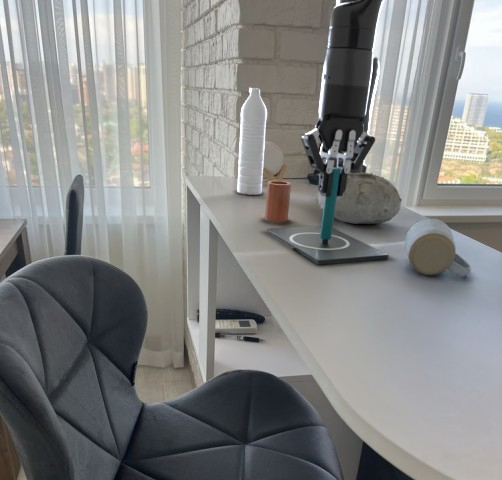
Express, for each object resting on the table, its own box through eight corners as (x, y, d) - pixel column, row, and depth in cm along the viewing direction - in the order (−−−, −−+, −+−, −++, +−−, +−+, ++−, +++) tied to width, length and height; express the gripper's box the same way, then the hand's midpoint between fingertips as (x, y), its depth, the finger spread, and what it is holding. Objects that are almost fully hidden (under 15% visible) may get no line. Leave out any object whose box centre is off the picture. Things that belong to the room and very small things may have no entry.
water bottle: (262, 195, 131) (269, 89, 120) (237, 194, 131) (242, 87, 120) (259, 189, 139) (266, 88, 128) (236, 188, 139) (240, 87, 128)
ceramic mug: (403, 274, 80) (414, 226, 77) (400, 259, 87) (410, 215, 84) (472, 284, 79) (487, 236, 75) (464, 268, 86) (477, 223, 82)
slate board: (327, 229, 104) (328, 225, 103) (387, 259, 87) (388, 254, 87) (266, 232, 98) (266, 228, 98) (317, 265, 82) (318, 259, 82)
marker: (326, 241, 92) (336, 167, 86) (332, 244, 90) (342, 169, 84) (317, 242, 91) (326, 167, 85) (322, 245, 89) (332, 169, 84)
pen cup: (281, 218, 110) (284, 180, 107) (291, 223, 106) (295, 184, 103) (261, 219, 108) (263, 180, 105) (270, 224, 104) (273, 185, 101)
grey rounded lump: (411, 232, 106) (421, 183, 102) (333, 232, 102) (340, 181, 97) (373, 212, 121) (380, 168, 117) (303, 211, 117) (308, 166, 113)
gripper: (319, 80, 73) (306, 201, 81) (396, 86, 79) (377, 199, 86) (295, 79, 80) (285, 191, 87) (368, 85, 85) (352, 190, 92)
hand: (331, 195), depth 87 cm, fingers closed on marker, 2 cm apart
